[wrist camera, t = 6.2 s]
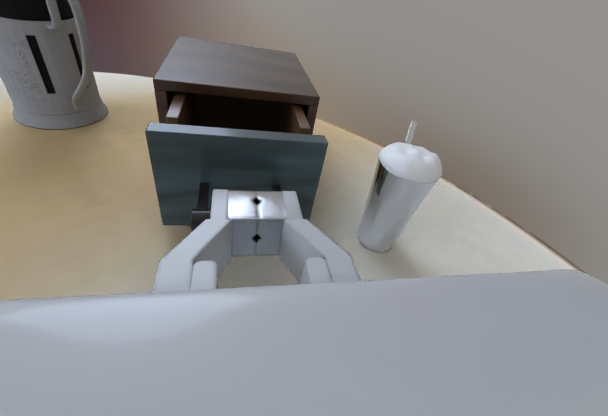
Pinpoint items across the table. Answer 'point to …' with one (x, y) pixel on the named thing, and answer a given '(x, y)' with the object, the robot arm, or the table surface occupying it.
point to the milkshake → (397, 191)
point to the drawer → (231, 153)
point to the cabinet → (233, 75)
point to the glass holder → (48, 64)
